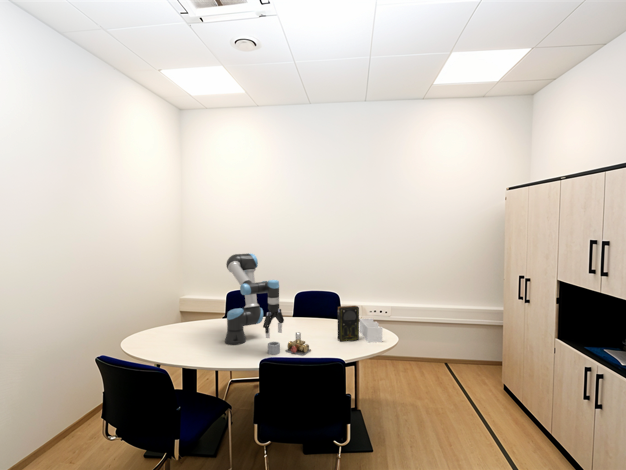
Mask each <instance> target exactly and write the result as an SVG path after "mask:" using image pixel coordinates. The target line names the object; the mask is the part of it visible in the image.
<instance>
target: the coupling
mask: <svg viewBox="0 0 626 470" xmlns="http://www.w3.org/2000/svg"><path fill="white" fill-rule="evenodd" d="M280 353H281V343H280V342H279V341H269V342H268V343H267V354H268V355H269V356H270V355H271V356H273V355H274V356H276V355H280Z"/></svg>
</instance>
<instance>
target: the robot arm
mask: <svg viewBox="0 0 626 470" xmlns="http://www.w3.org/2000/svg"><path fill="white" fill-rule="evenodd" d="M225 264H226V268H227V270H228V272H229V273H232V275H233V276H234V278H235V280H236V281H237V283H238V284H239V285H240V286H239V287H240V288H239V290H240V294H241V295H242V296H244V298H245V299H244V301H245V306H243V307H242V308H241V307H239V308H233V309H230V310H229V311H227V314H226V316H227V317H226V328H227V331H226V334H225V338H224V343H225V344H226V345H233V346H234V345H241V344H245V342H246V341H247V336H246V335H245V330H244V327H248V326H253V325H258V324H260V323H262V321H263V319H264V322H263V326H262V328H263V329H265V331H264V332H265V338H266V339H270V337H271V336H270V334H271V333H270V330H271V329H270V326H271V324H272V322H273V320H274V318H276V320H277V321H278V322H277V333H280V334H282V333H283V324H284V322H285V319H284V316H283V313H282V309H281V308H280V281H279V280H278V279H269V280H262V281H259V282H256V279H255V271H256V270H257V269H256V268H258V265H259V263H258V258H257V256H256V255H255V254H254V253H235V254H232V255H230V256H229V257H228V259H227V260H226V263H225ZM257 294H267V310H268V312H267V311H266V312H265V318H264V310H263V308H262V307H260V304H259V303H258V300H257V299H258V297H257Z"/></svg>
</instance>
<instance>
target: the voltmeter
mask: <svg viewBox="0 0 626 470" xmlns="http://www.w3.org/2000/svg"><path fill="white" fill-rule="evenodd" d="M337 339H338V341H339V342H341V343H342V342H352V341H353V342H355V341H359V340H360V307H359V306H357V305H343V306H341V305H340V306H337Z"/></svg>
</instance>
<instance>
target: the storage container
mask: <svg viewBox="0 0 626 470" xmlns="http://www.w3.org/2000/svg"><path fill="white" fill-rule="evenodd" d="M359 334H361V336H362V337H363V338H364V340H365V341H366V342H367V343H382V342H383V326H379V322H377V321H374V318H372V317H371V318H370V317H369V318H359Z"/></svg>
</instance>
